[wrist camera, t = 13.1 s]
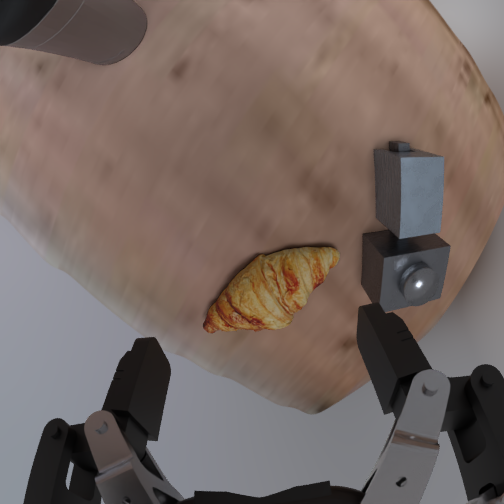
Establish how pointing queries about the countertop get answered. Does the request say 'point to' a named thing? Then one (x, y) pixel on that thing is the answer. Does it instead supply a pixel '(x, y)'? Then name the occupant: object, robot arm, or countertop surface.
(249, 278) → the croissant
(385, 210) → the notched metal block
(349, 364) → the countertop surface
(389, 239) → the grey knobbed block
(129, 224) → the countertop surface
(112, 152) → the countertop surface
